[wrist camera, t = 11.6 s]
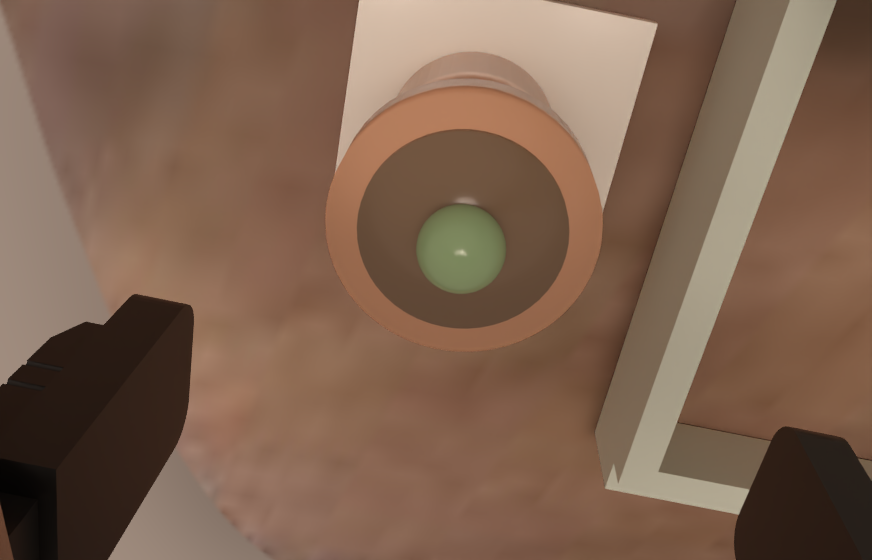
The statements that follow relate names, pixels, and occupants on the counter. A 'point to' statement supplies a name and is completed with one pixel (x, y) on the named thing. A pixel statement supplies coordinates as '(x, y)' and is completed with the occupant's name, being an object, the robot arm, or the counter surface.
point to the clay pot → (465, 208)
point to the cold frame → (707, 265)
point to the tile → (517, 42)
